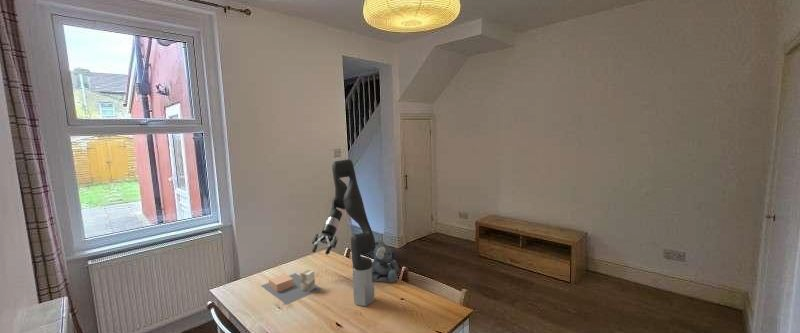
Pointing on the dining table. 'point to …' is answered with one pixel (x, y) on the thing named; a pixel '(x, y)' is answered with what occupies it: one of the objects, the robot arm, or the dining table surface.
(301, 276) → the cream block
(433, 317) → the dining table surface
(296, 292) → the building mat
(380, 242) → the koala plush
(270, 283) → the terracotta brick
